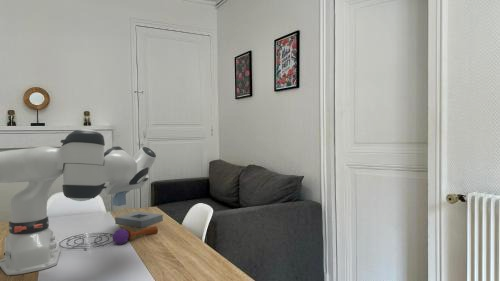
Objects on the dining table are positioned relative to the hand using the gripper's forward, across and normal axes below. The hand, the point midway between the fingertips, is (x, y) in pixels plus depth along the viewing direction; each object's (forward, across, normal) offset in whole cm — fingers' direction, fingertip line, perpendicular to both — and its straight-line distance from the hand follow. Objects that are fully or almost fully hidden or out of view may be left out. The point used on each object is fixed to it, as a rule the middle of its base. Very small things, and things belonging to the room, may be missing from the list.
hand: (118, 195), depth 162 cm
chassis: (+10, +12, -11) cm, 19 cm away
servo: (+3, 0, -4) cm, 4 cm away
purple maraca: (-3, -8, -26) cm, 27 cm away
